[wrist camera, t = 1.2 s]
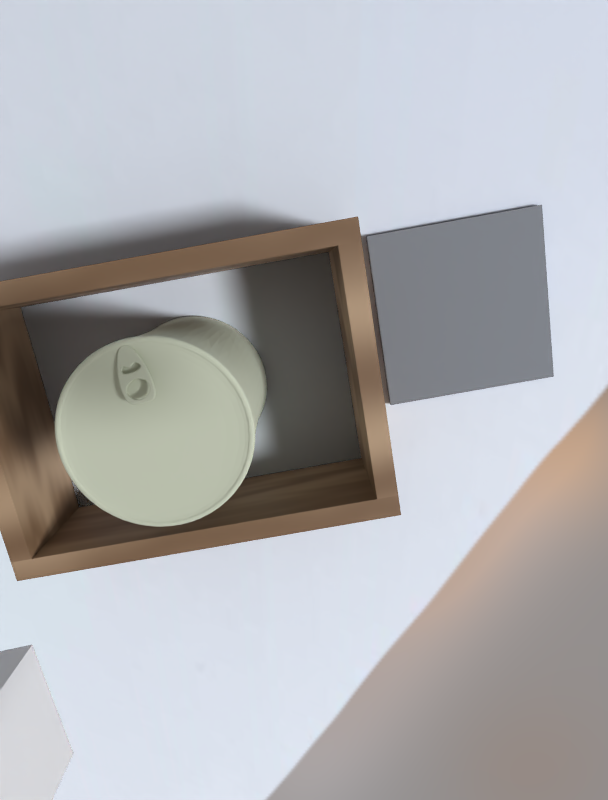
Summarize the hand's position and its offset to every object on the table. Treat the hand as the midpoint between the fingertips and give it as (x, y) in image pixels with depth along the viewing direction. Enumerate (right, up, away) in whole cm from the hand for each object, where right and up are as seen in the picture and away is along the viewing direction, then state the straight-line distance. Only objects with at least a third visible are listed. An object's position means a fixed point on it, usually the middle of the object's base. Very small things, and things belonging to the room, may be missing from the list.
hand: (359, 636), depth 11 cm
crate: (-8, +6, +25) cm, 27 cm away
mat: (+9, +11, +24) cm, 28 cm away
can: (-8, +6, +25) cm, 27 cm away
